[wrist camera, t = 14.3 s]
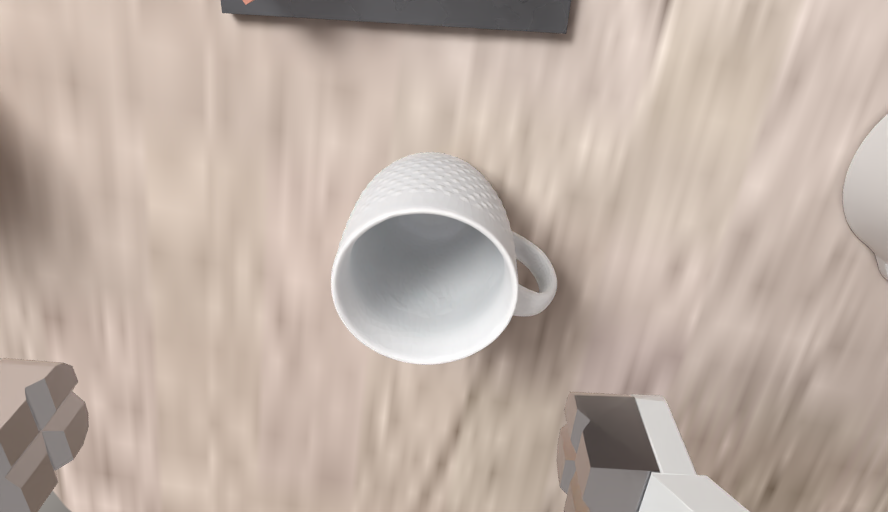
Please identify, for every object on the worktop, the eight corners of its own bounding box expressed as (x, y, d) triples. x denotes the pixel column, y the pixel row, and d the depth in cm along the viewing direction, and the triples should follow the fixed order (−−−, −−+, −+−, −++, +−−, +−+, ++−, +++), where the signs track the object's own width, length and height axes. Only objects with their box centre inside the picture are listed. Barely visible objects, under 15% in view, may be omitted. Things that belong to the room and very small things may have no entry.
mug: (577, 181, 46) (615, 275, 35) (512, 293, 51) (526, 406, 40) (390, 103, 43) (365, 177, 32) (341, 230, 49) (305, 332, 37)
